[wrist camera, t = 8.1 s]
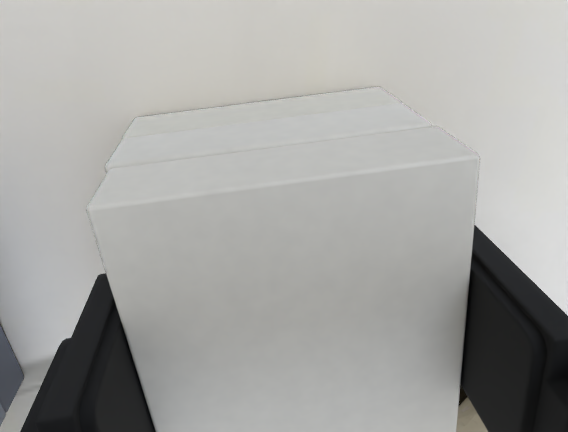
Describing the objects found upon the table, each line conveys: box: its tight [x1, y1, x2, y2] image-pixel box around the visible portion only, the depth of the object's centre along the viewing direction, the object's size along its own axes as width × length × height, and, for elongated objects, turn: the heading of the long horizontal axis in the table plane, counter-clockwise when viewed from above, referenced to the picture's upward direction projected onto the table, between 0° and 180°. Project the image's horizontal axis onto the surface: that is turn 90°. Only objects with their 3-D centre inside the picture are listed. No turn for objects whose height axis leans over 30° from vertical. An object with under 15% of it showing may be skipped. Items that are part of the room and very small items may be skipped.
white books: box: [105, 87, 432, 174], centre depth 13 cm, size 8×6×4 cm
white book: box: [86, 126, 480, 432], centre depth 10 cm, size 8×6×2 cm
